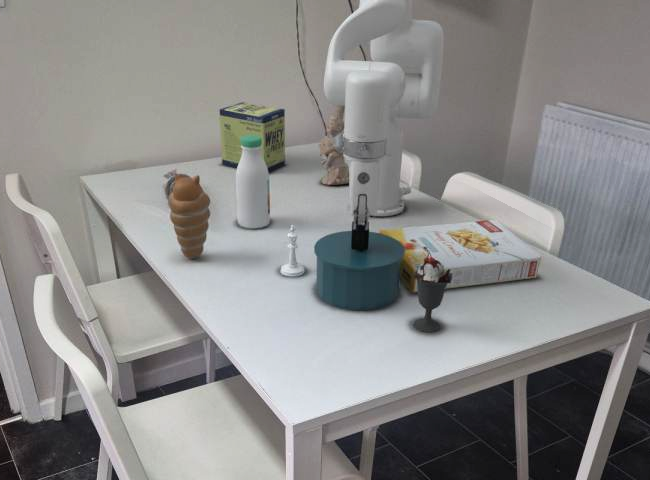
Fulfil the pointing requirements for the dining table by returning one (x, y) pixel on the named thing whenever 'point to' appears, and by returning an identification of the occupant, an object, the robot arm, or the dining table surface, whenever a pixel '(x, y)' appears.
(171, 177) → the spaceship
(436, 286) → the sundae
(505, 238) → the cereal box
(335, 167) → the figurine
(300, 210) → the dining table surface
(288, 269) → the chess piece
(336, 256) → the tin lid
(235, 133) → the protein box
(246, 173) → the milk bottle
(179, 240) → the cat ice cream
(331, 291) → the tin
